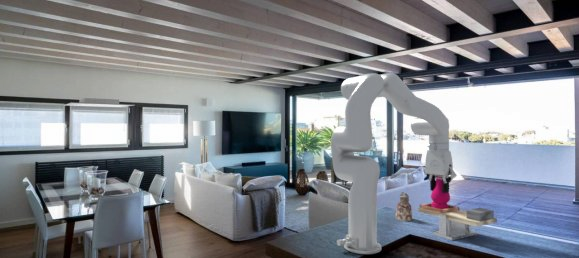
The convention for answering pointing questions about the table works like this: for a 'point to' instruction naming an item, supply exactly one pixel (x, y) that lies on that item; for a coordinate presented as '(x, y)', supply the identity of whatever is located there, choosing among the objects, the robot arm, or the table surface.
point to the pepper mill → (439, 195)
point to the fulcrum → (453, 229)
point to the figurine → (404, 208)
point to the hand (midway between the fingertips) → (439, 191)
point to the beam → (462, 214)
